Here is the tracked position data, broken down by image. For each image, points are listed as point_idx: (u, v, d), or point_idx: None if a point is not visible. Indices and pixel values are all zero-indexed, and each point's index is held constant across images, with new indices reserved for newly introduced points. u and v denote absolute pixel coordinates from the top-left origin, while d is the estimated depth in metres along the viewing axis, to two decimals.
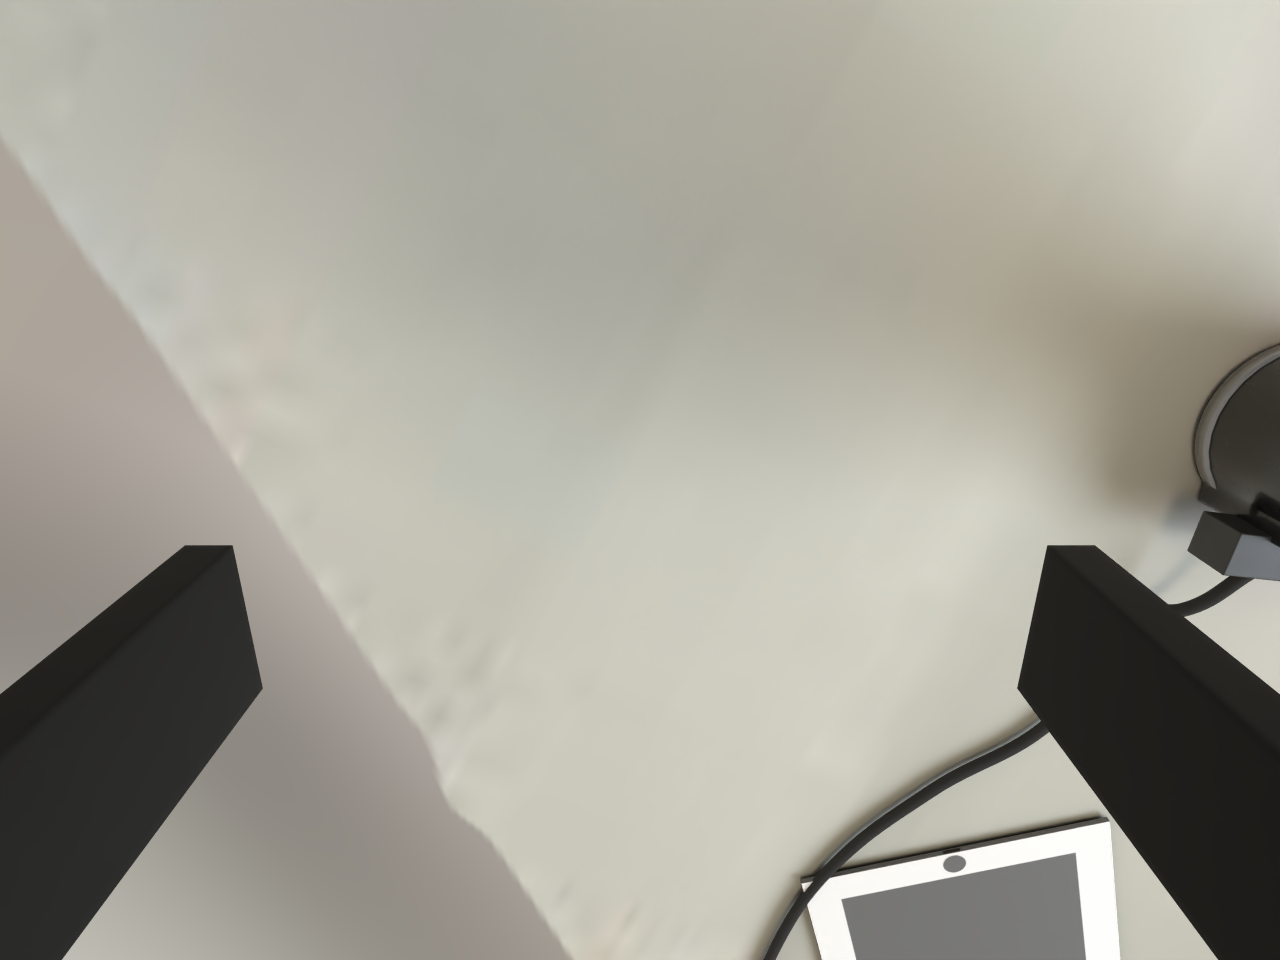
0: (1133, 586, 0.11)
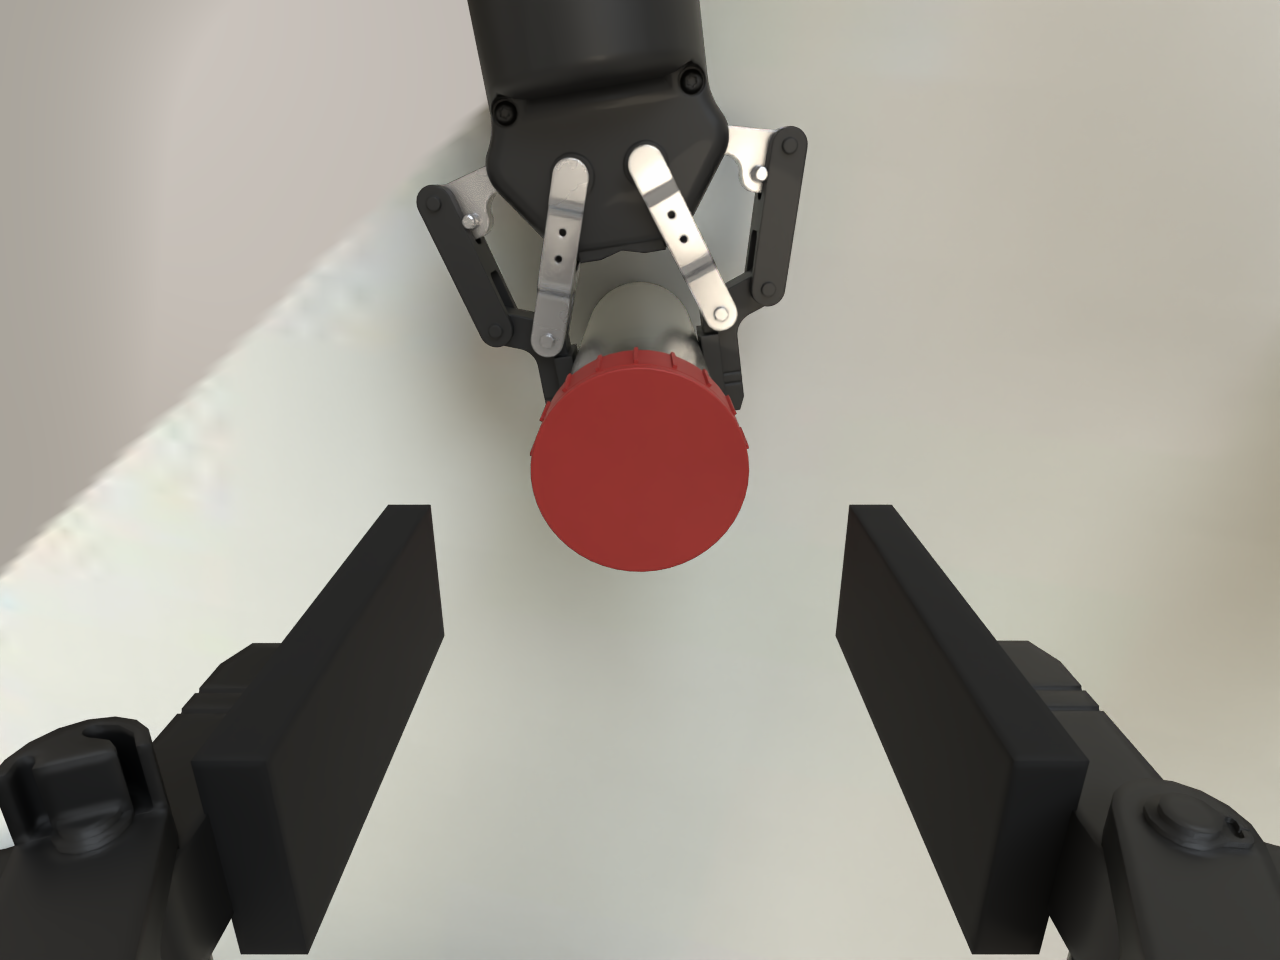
0: (905, 536, 0.13)
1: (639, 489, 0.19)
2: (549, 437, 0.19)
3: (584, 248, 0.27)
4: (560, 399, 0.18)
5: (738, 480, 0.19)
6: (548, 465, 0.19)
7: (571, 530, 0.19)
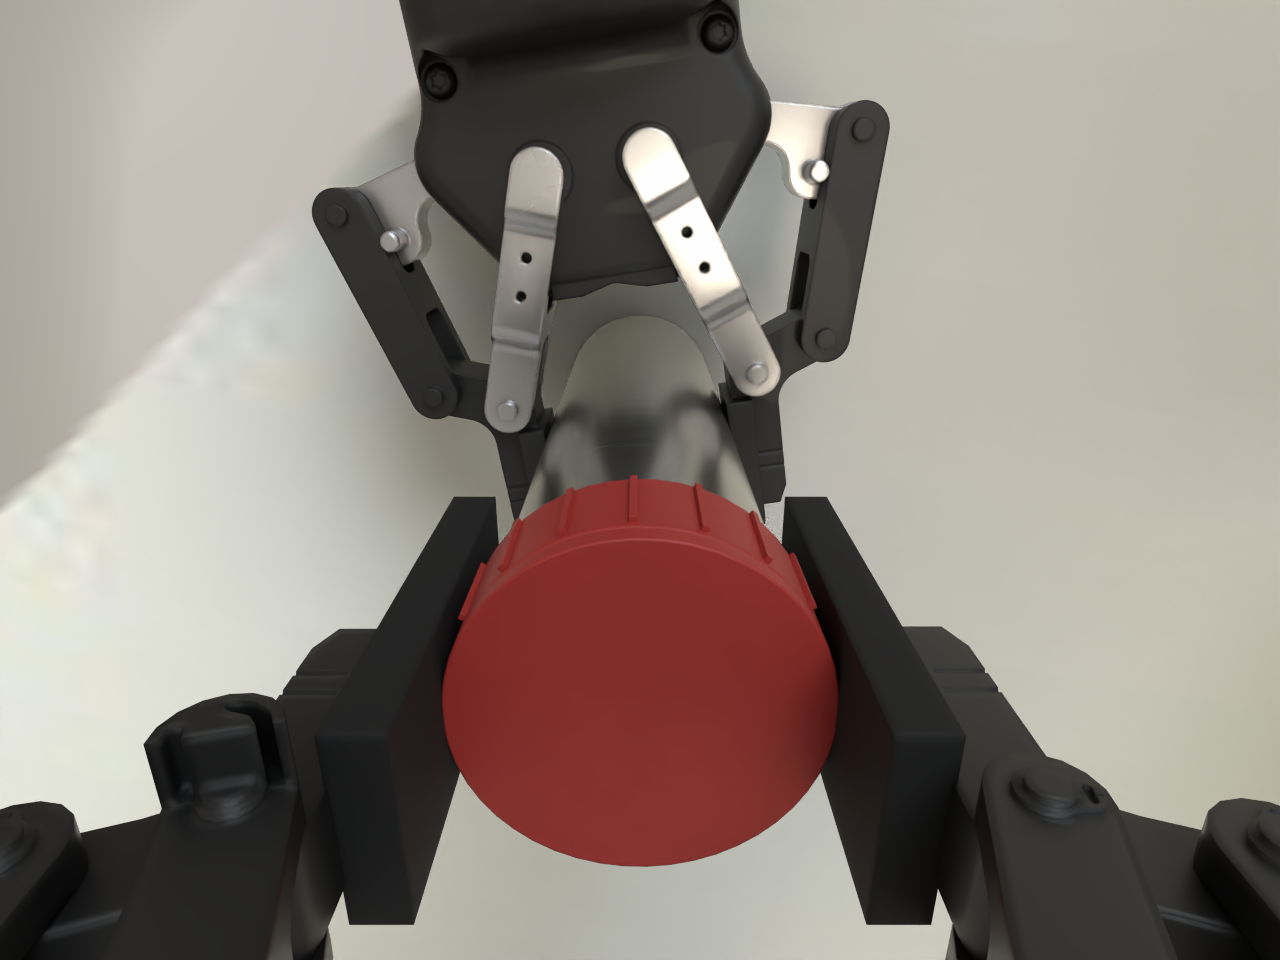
0: (833, 527, 0.13)
1: (639, 740, 0.11)
2: (473, 657, 0.10)
3: (559, 280, 0.19)
4: (491, 591, 0.10)
5: (819, 726, 0.10)
6: (473, 702, 0.10)
7: (518, 805, 0.11)
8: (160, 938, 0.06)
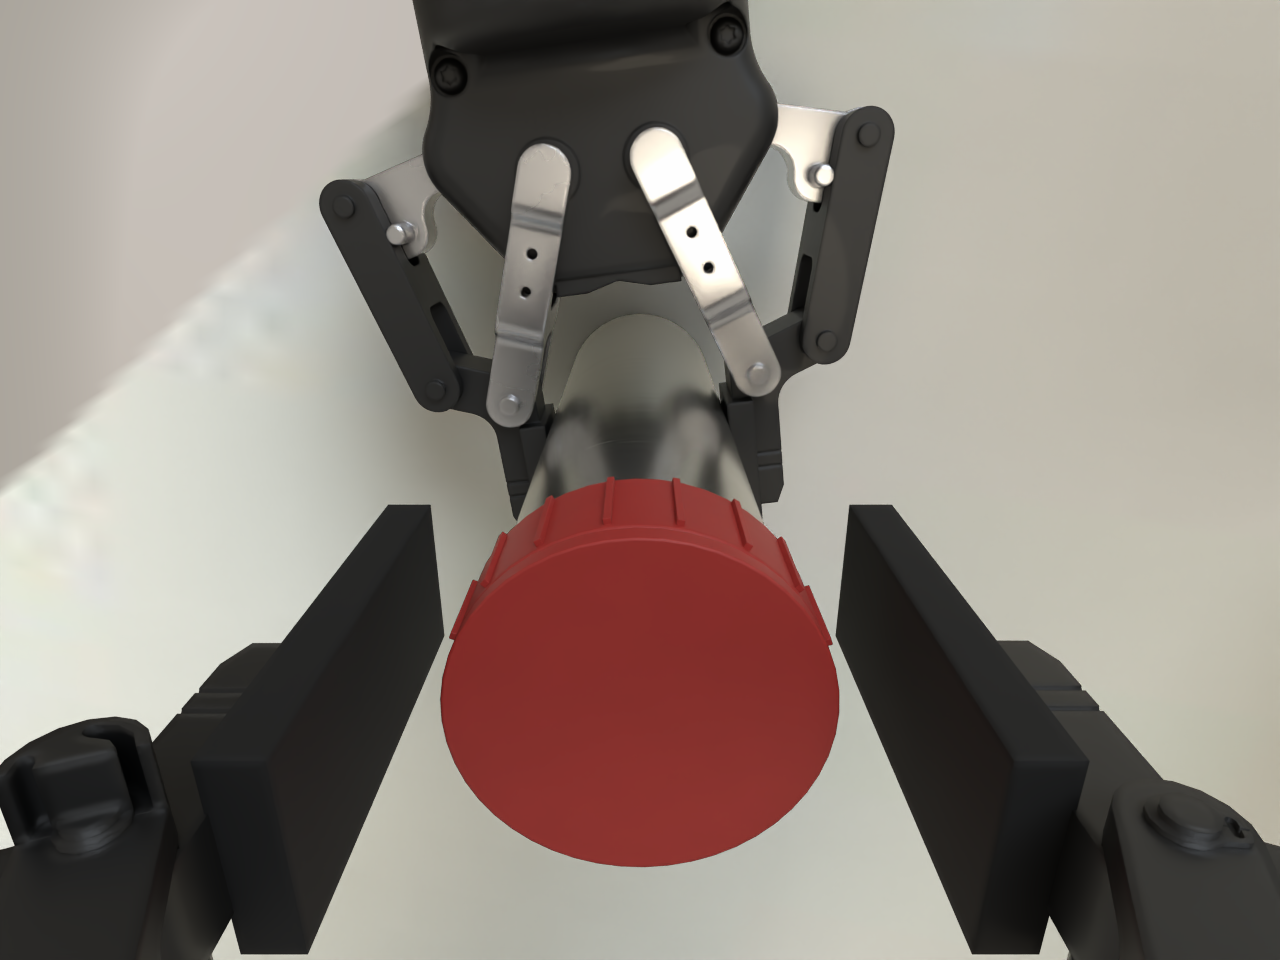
0: (905, 536, 0.13)
1: (665, 727, 0.10)
2: (517, 812, 0.11)
3: (564, 276, 0.19)
4: (462, 772, 0.11)
5: (726, 574, 0.10)
6: (562, 829, 0.11)
7: (687, 842, 0.11)
8: None
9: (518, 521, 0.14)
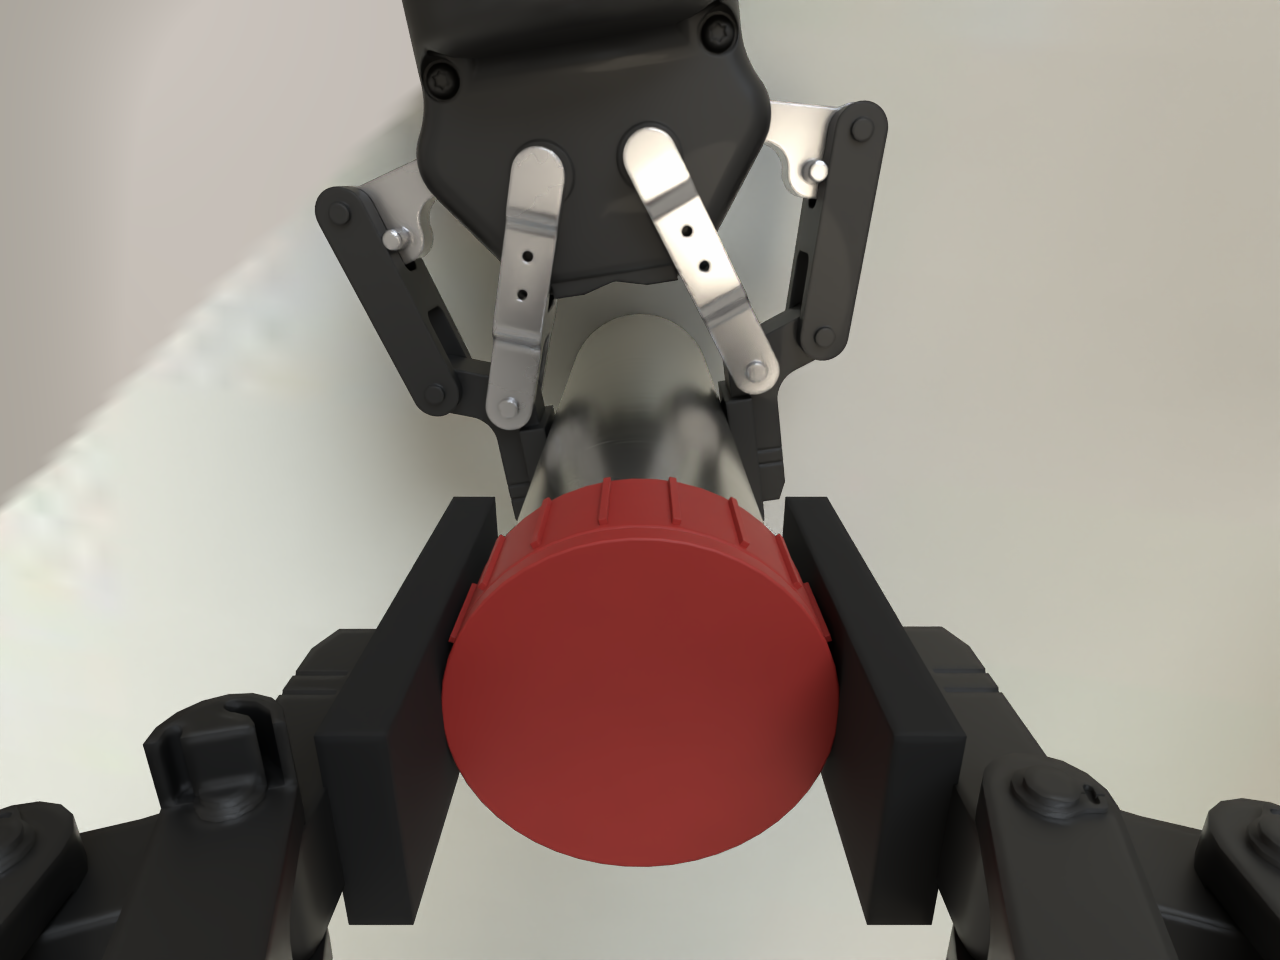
0: (833, 527, 0.13)
1: (666, 726, 0.10)
2: (519, 813, 0.11)
3: (560, 278, 0.19)
4: (465, 775, 0.11)
5: (723, 572, 0.10)
6: (566, 831, 0.11)
7: (691, 841, 0.11)
8: (158, 936, 0.06)
9: (517, 523, 0.14)
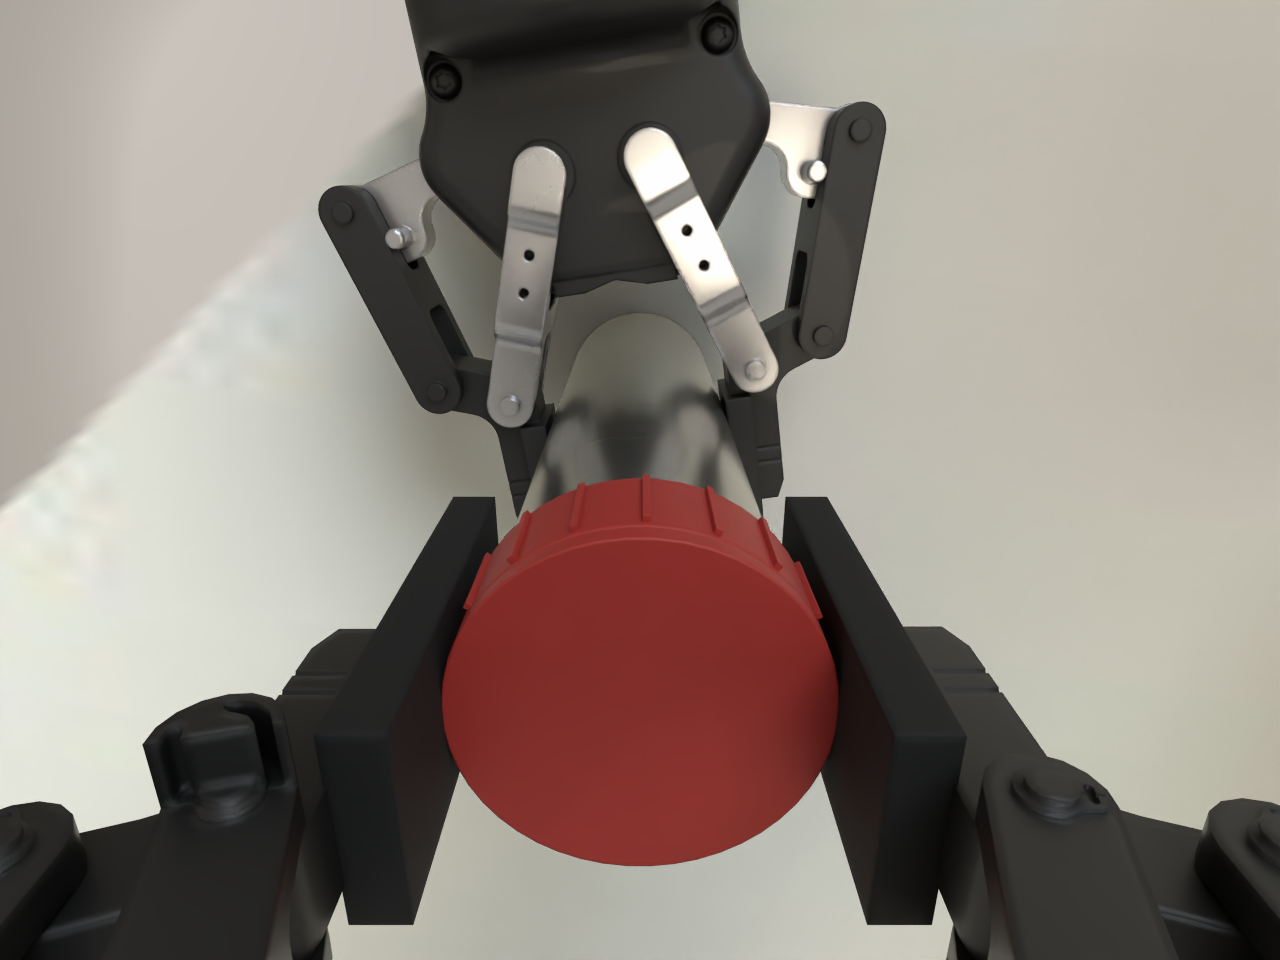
0: (834, 527, 0.13)
1: (660, 700, 0.10)
2: (702, 842, 0.11)
3: (561, 277, 0.19)
4: (643, 862, 0.11)
5: (509, 602, 0.10)
6: (741, 816, 0.11)
7: (808, 725, 0.10)
8: (158, 938, 0.06)
9: (519, 518, 0.14)
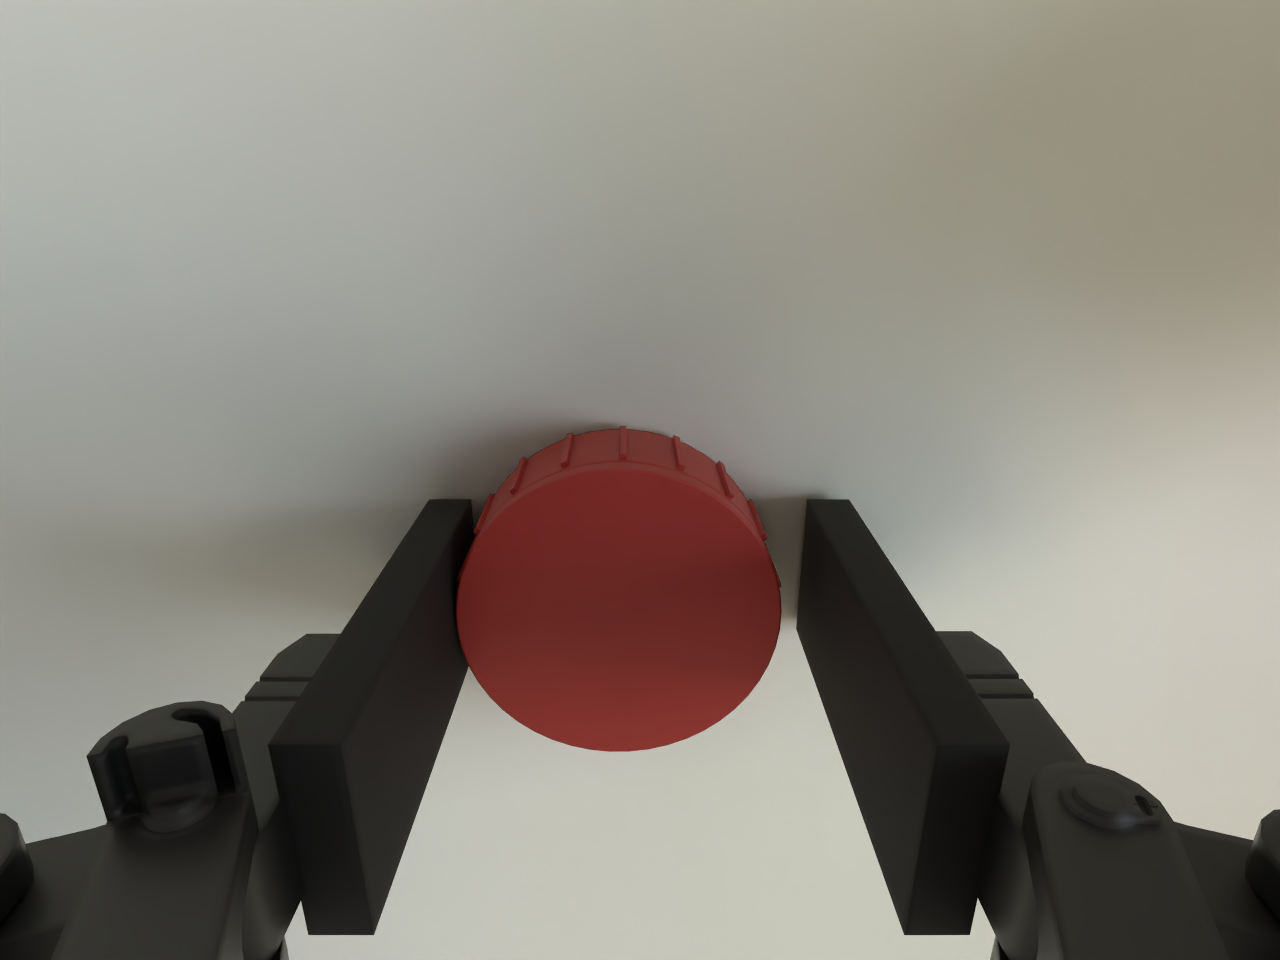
0: (858, 530, 0.13)
1: (635, 606, 0.13)
2: (671, 730, 0.14)
3: None
4: (623, 748, 0.14)
5: (512, 524, 0.12)
6: (703, 707, 0.13)
7: (756, 627, 0.13)
8: (104, 951, 0.06)
9: None
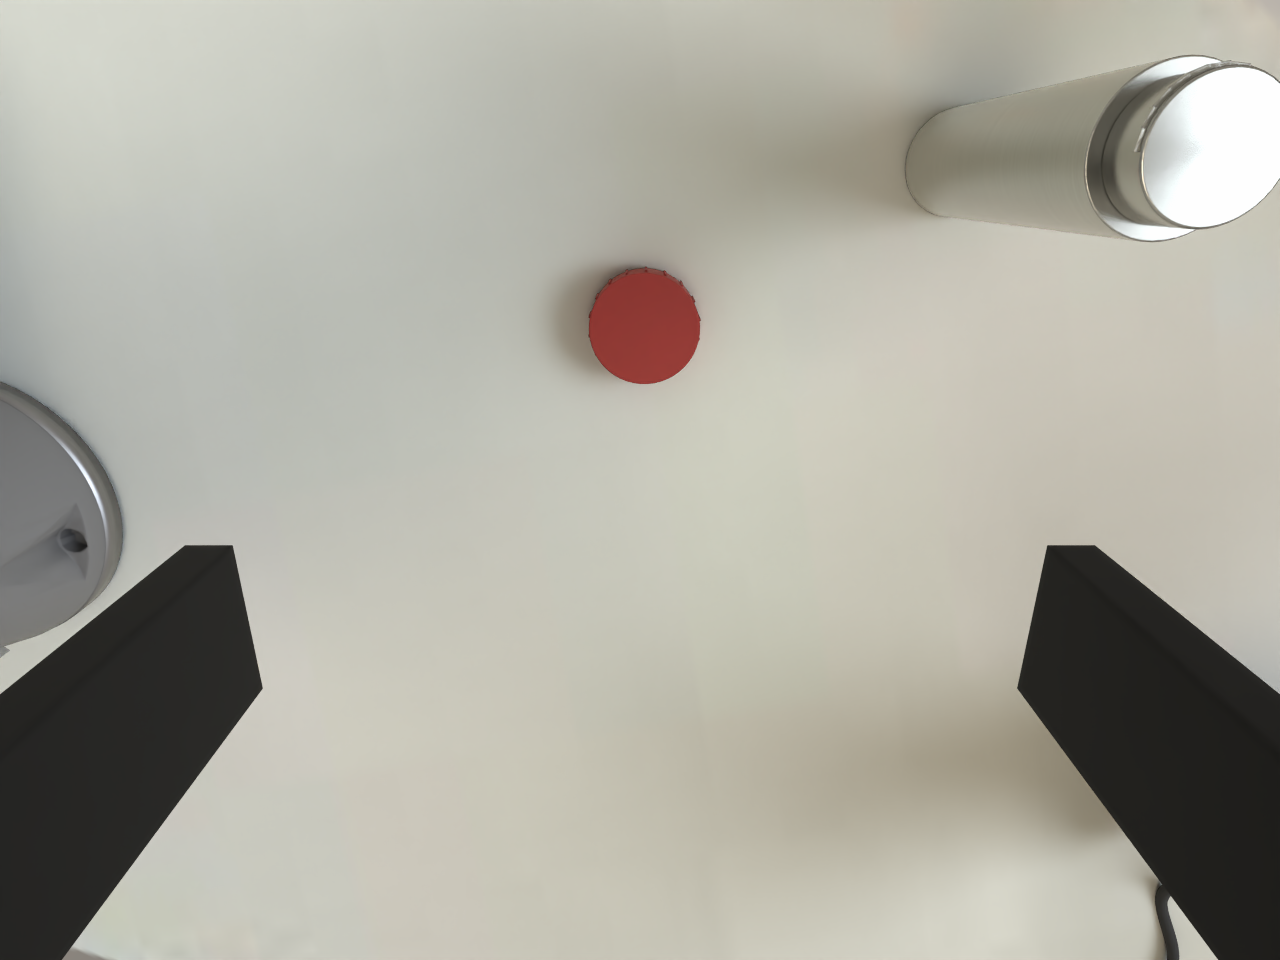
0: (1133, 586, 0.11)
1: (650, 324, 0.37)
2: (662, 374, 0.38)
3: None
4: (645, 383, 0.38)
5: (609, 292, 0.37)
6: (673, 365, 0.38)
7: (691, 332, 0.37)
8: None
9: None
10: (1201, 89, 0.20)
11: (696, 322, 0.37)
